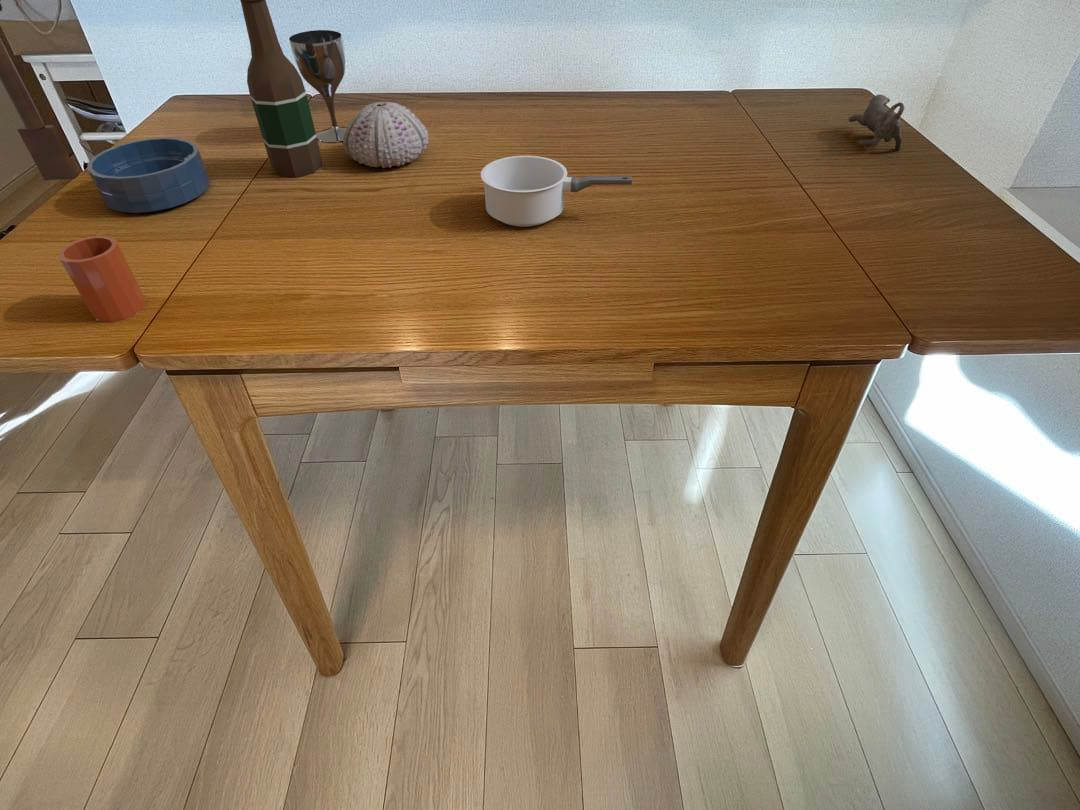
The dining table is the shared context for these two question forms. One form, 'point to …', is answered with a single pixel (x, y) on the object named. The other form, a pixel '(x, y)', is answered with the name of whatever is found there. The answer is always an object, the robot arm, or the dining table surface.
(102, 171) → the bowl
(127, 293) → the utensil pot
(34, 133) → the spatula
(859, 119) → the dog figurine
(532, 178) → the saucepan
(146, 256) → the dining table surface
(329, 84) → the wine glass
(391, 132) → the sea urchin shell
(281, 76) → the beer bottle
